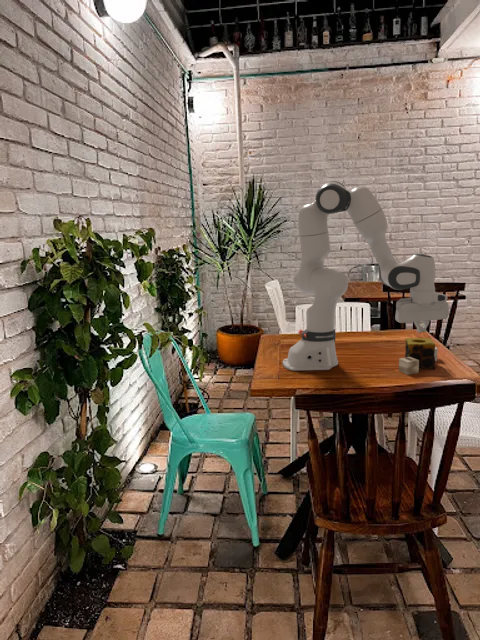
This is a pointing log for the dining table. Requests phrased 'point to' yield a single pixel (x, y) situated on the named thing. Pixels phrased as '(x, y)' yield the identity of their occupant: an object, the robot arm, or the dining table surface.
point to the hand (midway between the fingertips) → (421, 332)
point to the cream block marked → (436, 353)
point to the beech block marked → (408, 365)
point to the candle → (421, 351)
